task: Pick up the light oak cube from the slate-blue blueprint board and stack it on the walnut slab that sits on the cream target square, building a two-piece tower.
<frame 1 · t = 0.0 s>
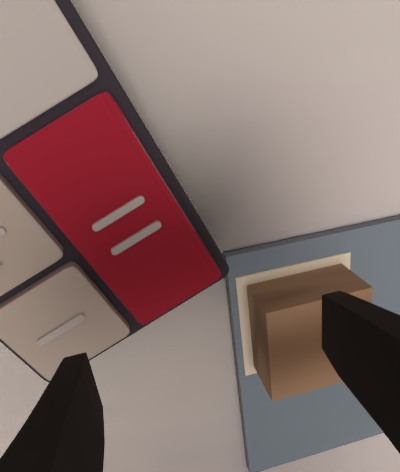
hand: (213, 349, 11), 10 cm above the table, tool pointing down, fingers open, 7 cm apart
walnut slab: (296, 316, 24), point 1 cm above the table, touching blueprint board
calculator: (54, 191, 19), on the table
blueprint board: (340, 347, 27), on the table
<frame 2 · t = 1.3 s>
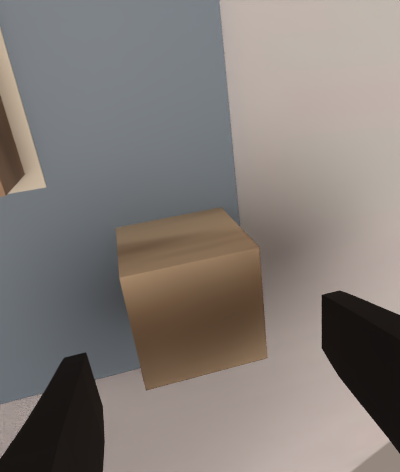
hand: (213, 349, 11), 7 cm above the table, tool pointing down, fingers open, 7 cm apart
blueprint board: (49, 193, 15), on the table
oak cube: (177, 264, 17), point 1 cm above the table, touching blueprint board
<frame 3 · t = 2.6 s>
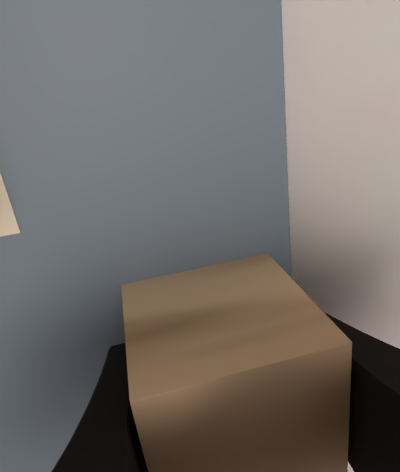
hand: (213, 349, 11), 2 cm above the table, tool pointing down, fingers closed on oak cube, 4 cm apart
blueprint board: (26, 237, 11), on the table
oak cube: (205, 329, 12), point 1 cm above the table, touching blueprint board, gripper
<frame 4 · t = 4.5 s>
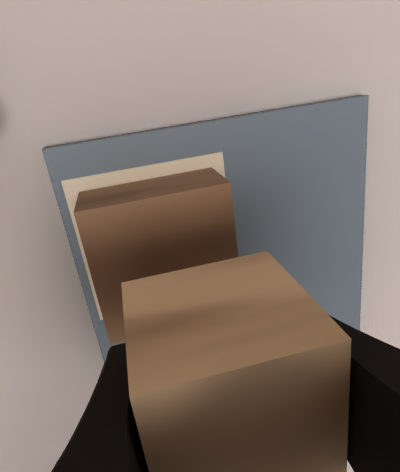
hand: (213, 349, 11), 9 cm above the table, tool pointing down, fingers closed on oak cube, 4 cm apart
walnut slab: (158, 240, 18), point 1 cm above the table, touching blueprint board
blueprint board: (232, 288, 21), on the table
oak cube: (205, 327, 12), point 8 cm above the table, touching gripper
when the fingers open (5 cm above the table, at t = 6.2 s): oak cube stays where it is, resting on walnut slab.
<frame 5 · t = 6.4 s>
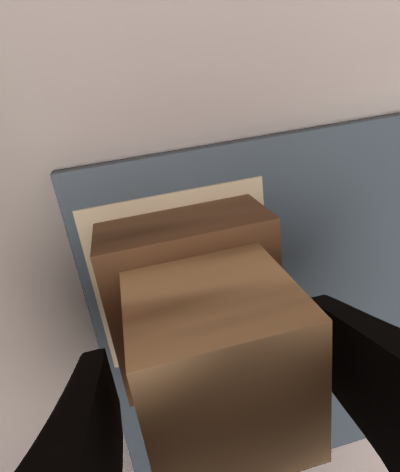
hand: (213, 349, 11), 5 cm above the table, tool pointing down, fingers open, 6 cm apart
walnut slab: (184, 277, 16), point 1 cm above the table, touching blueprint board, oak cube
blueprint board: (264, 327, 18), on the table
oak cube: (199, 316, 13), point 4 cm above the table, touching walnut slab
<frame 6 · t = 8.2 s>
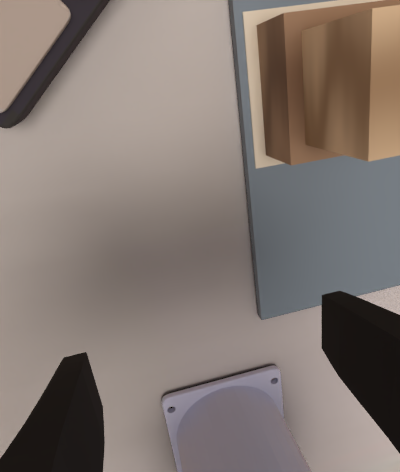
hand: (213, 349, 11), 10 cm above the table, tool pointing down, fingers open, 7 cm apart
walnut slab: (318, 85, 19), point 1 cm above the table, touching blueprint board, oak cube
blueprint board: (369, 151, 22), on the table
oak cube: (352, 82, 16), point 4 cm above the table, touching walnut slab
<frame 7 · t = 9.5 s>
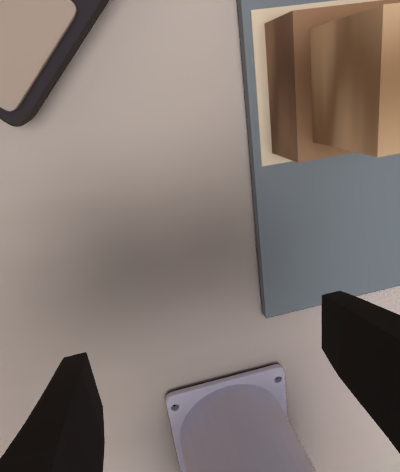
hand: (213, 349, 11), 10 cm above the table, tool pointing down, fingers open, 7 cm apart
walnut slab: (324, 83, 19), point 1 cm above the table, touching blueprint board, oak cube
blueprint board: (375, 150, 22), on the table
oak cube: (359, 80, 17), point 4 cm above the table, touching walnut slab
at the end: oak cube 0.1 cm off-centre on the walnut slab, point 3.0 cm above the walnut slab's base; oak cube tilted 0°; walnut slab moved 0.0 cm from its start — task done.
